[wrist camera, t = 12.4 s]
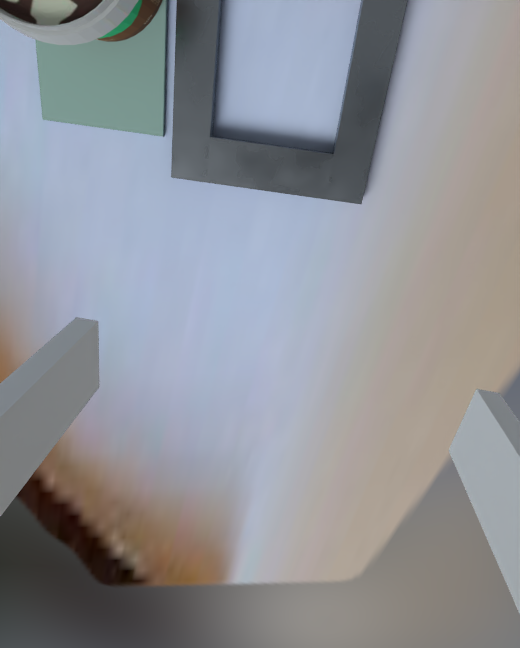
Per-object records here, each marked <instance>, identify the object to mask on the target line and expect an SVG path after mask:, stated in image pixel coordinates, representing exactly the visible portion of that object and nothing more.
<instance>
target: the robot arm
mask: <svg viewBox="0 0 520 648" xmlns="http://www.w3.org/2000/svg"><path fill="white" fill-rule="evenodd" d="M98 388H99V338H98V321H95V320H89V319H84V318H78V317H76V318H75V319H74V320H73V321H72V322H70V323H69V324H68V325H67V326H66V327H65V328H64V329H62V330H61V331H60V332H59V333H58V334H57V335H56V336H54V337H53V338H52V339H51V340H50V341H49V342H48V343H46V344H45V345H44V346H43V347H42V348H41V349H39V350H38V351H37V352H36V353H35V354H34V355H33V356H31V357H30V358H29V359H28V360H27V361H26V362H25V363H23V364H22V365H21V366H20V367H19V368H18V369H17V370H15V371H14V372H13V373H12V374H11V375H10V376H8V377H7V378H6V379H5V380H4V381H3V382H2V383H0V516H1V515H2V514H3V512H4V511H5V510H6V508H7V507H8V506H9V504H10V503H11V502H12V500H13V499H14V498H15V497H16V495H17V494H18V493H19V491H20V490H21V489H22V487H23V486H24V485H25V483H26V482H27V481H28V480H29V478H30V477H31V476H32V474H33V473H34V472H35V470H36V469H37V468H38V466H39V465H40V464H41V463H42V461H43V460H44V459H45V457H46V456H47V455H48V453H49V452H50V451H51V449H52V448H53V447H54V446H55V444H56V443H57V442H58V440H59V439H60V438H61V436H62V435H63V434H64V432H65V431H66V430H67V429H68V427H69V426H70V425H71V423H72V422H73V421H74V419H75V418H76V417H77V415H78V414H79V413H80V412H81V410H82V409H83V408H84V406H85V405H86V404H87V402H88V401H89V400H90V398H91V397H92V396H93V395H94V393H95V392H96V391H97V389H98ZM449 452H450V455H451V457H452V459H453V462H454V464H455V466H456V468H457V471H458V473H459V475H460V478H461V480H462V482H463V485H464V487H465V489H466V492H467V494H468V496H469V498H470V501H471V503H472V505H473V507H474V510H475V512H476V514H477V517H478V519H479V521H480V524H481V526H482V528H483V531H484V533H485V535H486V538H487V540H488V542H489V544H490V547H491V549H492V551H493V554H494V556H495V558H496V560H497V563H498V565H499V567H500V570H501V572H502V574H503V577H504V579H505V581H506V584H507V586H508V588H509V591H510V593H511V595H512V597H513V600H514V602H515V604H516V607H517V609H518V611H519V614H520V422H519V421H518V419H517V418H516V416H515V415H514V413H513V412H512V411H511V409H510V408H509V406H508V405H507V404H506V402H505V401H504V399H503V398H502V397H501V395H500V394H499V393H496V392H491V391H485V390H480V389H476V391H475V393H474V396H473V398H472V400H471V402H470V404H469V407H468V409H467V411H466V413H465V416H464V418H463V420H462V422H461V424H460V427H459V429H458V431H457V433H456V435H455V438H454V440H453V442H452V444H451V446H450V449H449Z"/></svg>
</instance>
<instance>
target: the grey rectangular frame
mask: <svg viewBox="0 0 520 648" xmlns="http://www.w3.org/2000/svg"><path fill="white" fill-rule="evenodd" d="M406 4H407V0H361V5H360V11H359V16H358V21H357V27H356V32H355V37H354V43H353V48H352V53H351V59H350V64H349V69H348V75H347V80H346V86H345V91H344V96H343V102H342V107H341V112H340V118H339V123H338V128H337V134H336V139H335V144H334V150H333V153H327V152H320V151H313V150H305V149H298V148H291V147H284V146H277V145H270V144H263V143H256V142H249V141H241V140H234V139H227V138H220V137H213V136H212V135H213V121H214V107H215V92H216V78H217V63H218V49H219V35H220V20H221V6H222V0H177V14H176V45H175V76H174V108H173V139H172V171H171V177H172V178H179V179H186V180H193V181H200V182H207V183H214V184H221V185H228V186H236V187H243V188H250V189H257V190H264V191H271V192H278V193H285V194H292V195H299V196H306V197H313V198H321V199H328V200H335V201H342V202H349V203H356V204H362V199H363V195H364V190H365V186H366V181H367V177H368V173H369V168H370V164H371V159H372V155H373V150H374V146H375V142H376V137H377V133H378V128H379V124H380V120H381V115H382V111H383V106H384V102H385V97H386V93H387V89H388V84H389V80H390V75H391V71H392V66H393V62H394V58H395V53H396V49H397V44H398V40H399V35H400V31H401V27H402V22H403V18H404V13H405V9H406Z"/></svg>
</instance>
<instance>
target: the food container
mask: <svg viewBox="0 0 520 648" xmlns="http://www.w3.org/2000/svg"><path fill="white" fill-rule="evenodd" d="M161 3H162V0H0V19H1V20H2V21H4V22H5V23H6V24H8V25H9V26H10V27H12V28H13V29H15V30H17V31H19V32H20V33H22V34H24V35H26V36H28V37H31V38H33V39H36V40H39V41H41V42H45V43H50V44H56V45H77V44H82V43H87V42H90V41H93V40H101V41H106V42H117V41H122V40H126V39H129V38H131V37H133V36H135V35H137V34H138V33H140V32H141V31H142V30H144V29H145V27H146V26H147V25H148V24H149V23H150V22H151V21H152V19H153V18H154V17H155V15H156V14H157V12H158V10H159V7H160V5H161Z"/></svg>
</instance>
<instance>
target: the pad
mask: <svg viewBox="0 0 520 648" xmlns="http://www.w3.org/2000/svg"><path fill="white" fill-rule="evenodd" d="M166 41H167V0H162V3H161V5H160V7H159V10H158V12H157V14H156V15H155V17H154V18H153V19H152V21H151V22H150V23H149V24H148V25H147V26H146V27H145V29H144V30H142V31H141V32H140V33H138V34H137V35H135V36H133V37H131V38H129V39H126V40H122V41H117V42H106V41H101V40H93V41H90V42H87V43H82V44H77V45H56V44H50V43H45V42H41V41H39V40H36V51H37V62H38V73H39V84H40V95H41V106H42V117H43V120H49V121H57V122H64V123H71V124H78V125H85V126H92V127H99V128H106V129H113V130H121V131H128V132H135V133H142V134H149V135H156V136H164V125H165V83H166Z"/></svg>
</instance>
